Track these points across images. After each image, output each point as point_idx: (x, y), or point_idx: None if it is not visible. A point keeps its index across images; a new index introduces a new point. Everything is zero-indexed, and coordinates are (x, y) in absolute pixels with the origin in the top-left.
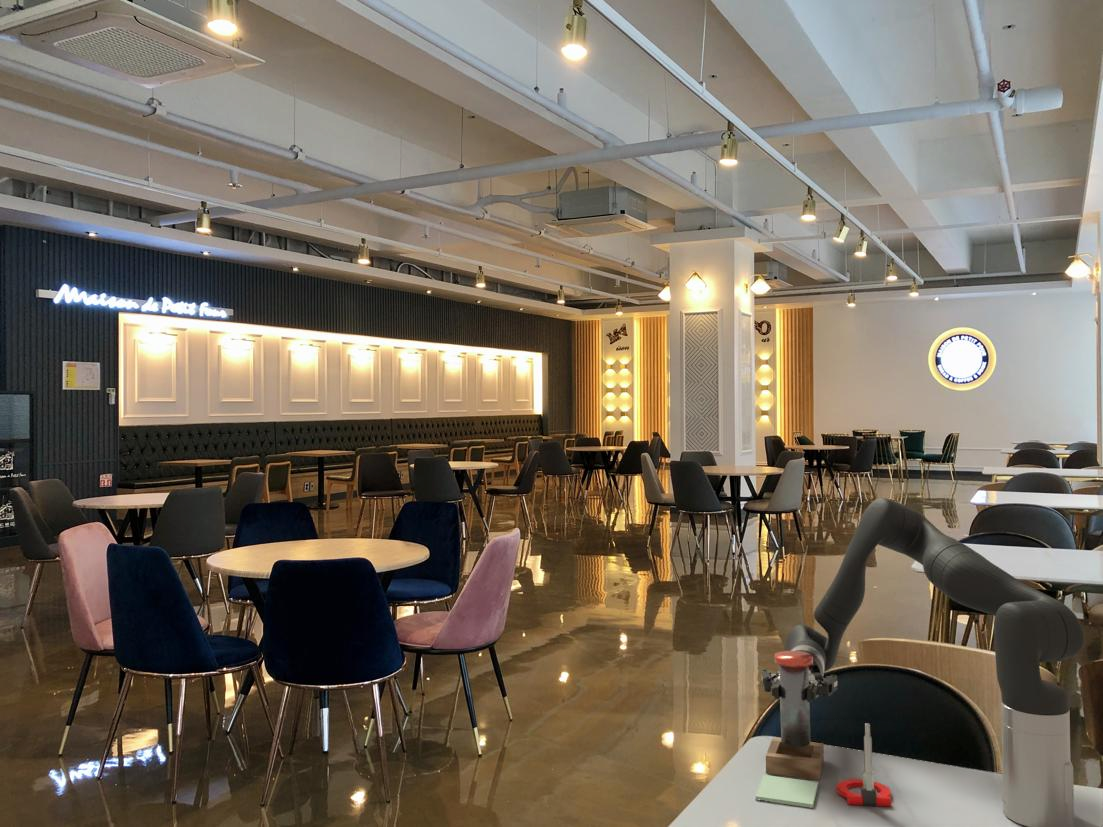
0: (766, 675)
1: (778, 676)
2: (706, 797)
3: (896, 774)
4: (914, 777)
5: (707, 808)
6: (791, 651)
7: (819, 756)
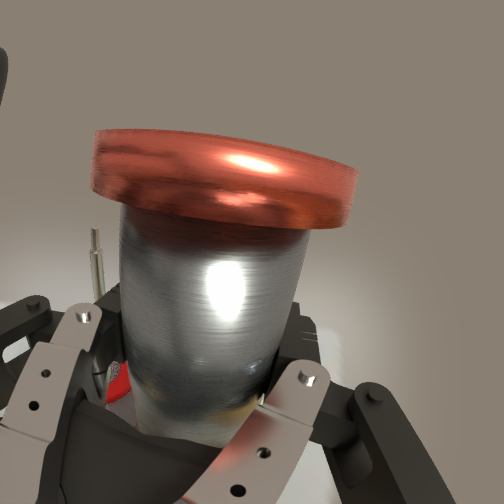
0: (397, 434)
1: (310, 424)
2: (338, 362)
3: (2, 411)
4: None
5: (326, 341)
6: (233, 138)
7: (137, 429)
